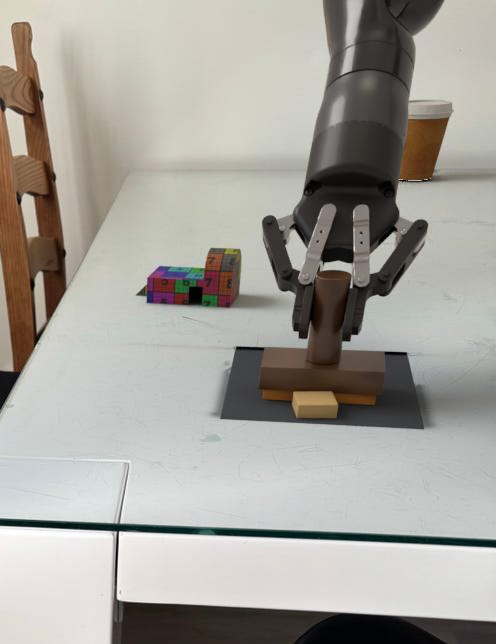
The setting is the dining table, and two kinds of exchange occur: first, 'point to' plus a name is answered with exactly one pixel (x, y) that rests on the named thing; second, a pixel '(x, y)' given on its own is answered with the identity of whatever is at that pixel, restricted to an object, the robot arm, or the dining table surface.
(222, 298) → the block
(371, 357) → the scrub brush
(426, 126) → the disposable coffee cup
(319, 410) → the tan flat square block
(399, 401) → the scrub mat
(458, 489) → the dining table surface
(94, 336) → the dining table surface
